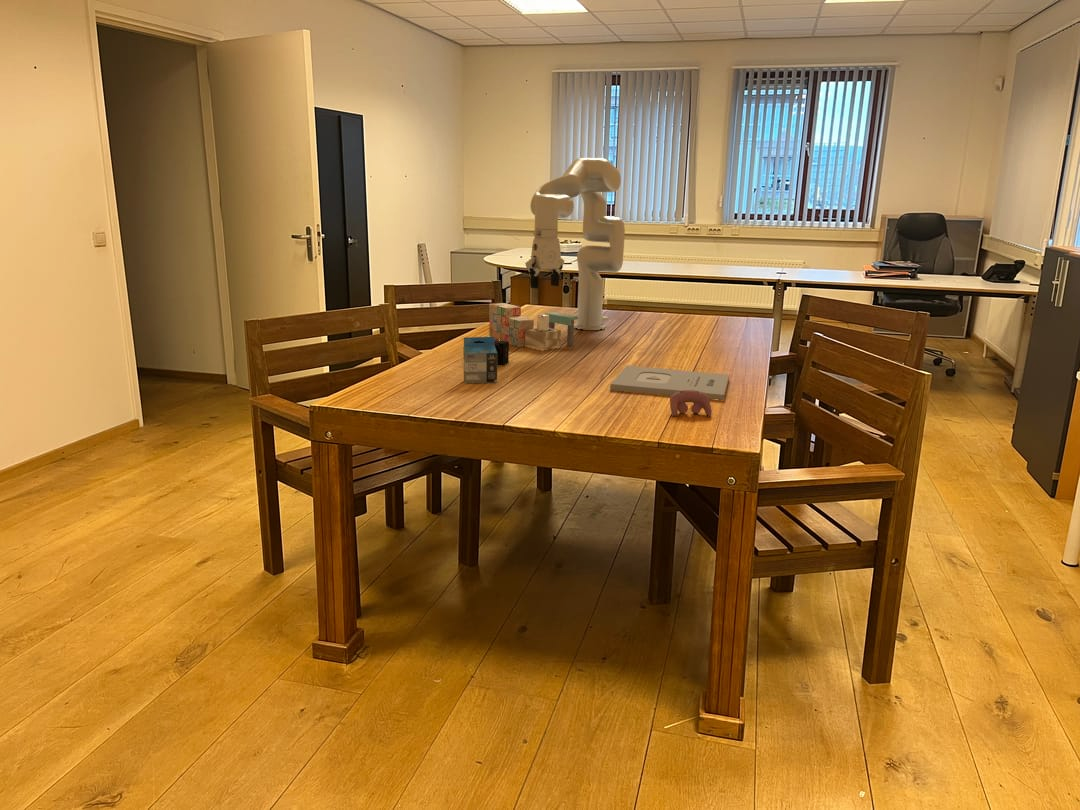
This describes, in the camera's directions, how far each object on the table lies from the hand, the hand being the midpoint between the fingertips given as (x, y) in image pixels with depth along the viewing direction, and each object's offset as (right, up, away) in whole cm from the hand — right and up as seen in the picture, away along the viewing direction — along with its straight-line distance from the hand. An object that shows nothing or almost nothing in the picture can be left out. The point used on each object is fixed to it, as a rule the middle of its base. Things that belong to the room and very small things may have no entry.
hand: (544, 286), depth 259 cm
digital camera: (-17, -27, -21) cm, 38 cm away
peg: (-1, -19, +5) cm, 19 cm away
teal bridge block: (+6, -18, +14) cm, 23 cm away
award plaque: (+35, -34, -41) cm, 64 cm away
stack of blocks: (-12, -17, +15) cm, 26 cm away
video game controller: (+35, -42, -70) cm, 88 cm away
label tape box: (-18, -33, -44) cm, 58 cm away
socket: (-1, -20, +5) cm, 21 cm away
